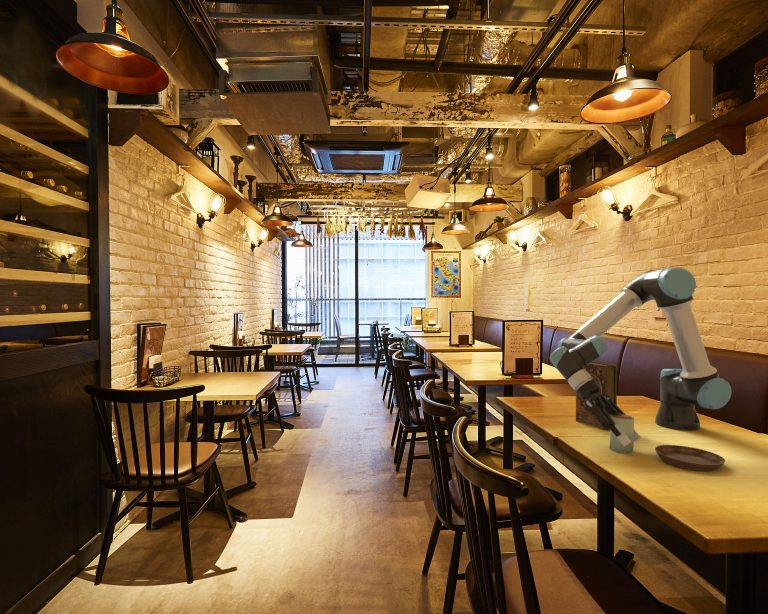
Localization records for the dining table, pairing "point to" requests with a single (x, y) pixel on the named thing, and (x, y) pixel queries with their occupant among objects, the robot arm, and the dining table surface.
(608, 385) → the book
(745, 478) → the dining table surface
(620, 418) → the pale green cup
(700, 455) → the plant saucer
